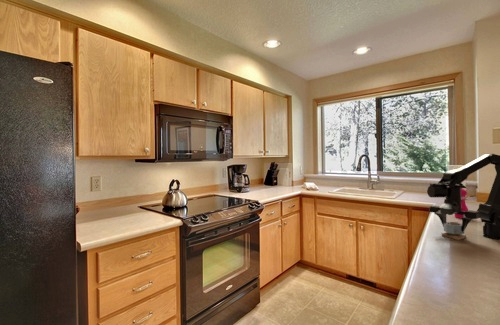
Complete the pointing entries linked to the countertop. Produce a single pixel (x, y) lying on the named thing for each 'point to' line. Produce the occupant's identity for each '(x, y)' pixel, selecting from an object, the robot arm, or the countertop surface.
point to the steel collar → (453, 228)
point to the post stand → (454, 236)
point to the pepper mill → (462, 203)
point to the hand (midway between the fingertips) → (453, 229)
